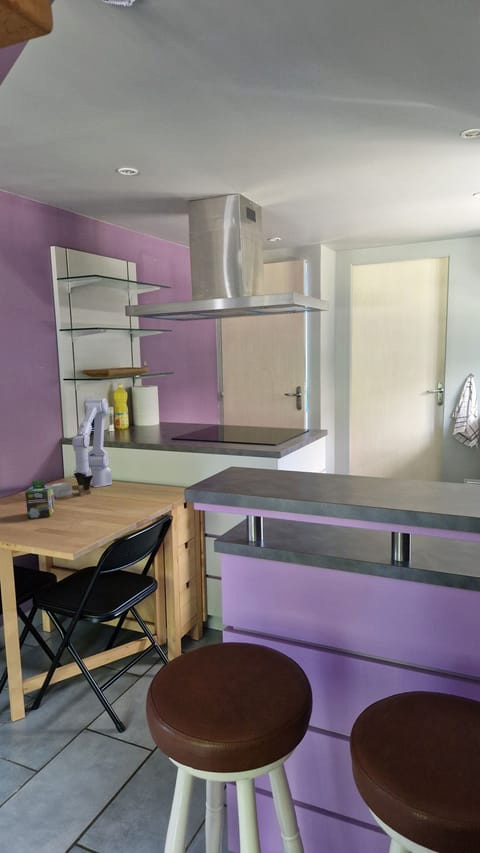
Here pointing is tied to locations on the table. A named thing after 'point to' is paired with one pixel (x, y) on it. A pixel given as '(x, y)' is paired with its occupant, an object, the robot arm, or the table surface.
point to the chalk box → (40, 500)
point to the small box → (62, 489)
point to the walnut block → (83, 491)
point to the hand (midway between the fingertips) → (84, 488)
